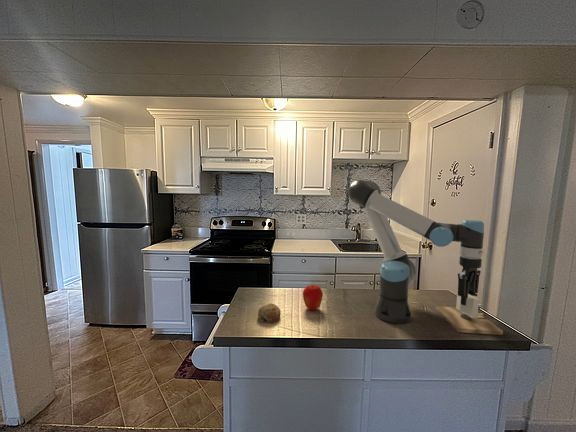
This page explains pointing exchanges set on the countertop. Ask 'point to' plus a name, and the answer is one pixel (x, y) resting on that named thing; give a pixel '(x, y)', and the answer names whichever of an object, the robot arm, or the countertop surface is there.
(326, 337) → the countertop surface
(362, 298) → the countertop surface
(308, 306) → the apple
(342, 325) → the countertop surface
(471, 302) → the cream piece
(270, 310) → the bread roll
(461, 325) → the light wood flat board
